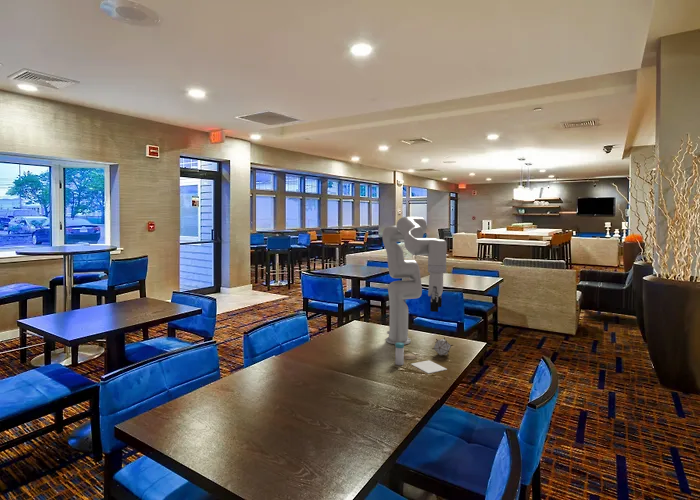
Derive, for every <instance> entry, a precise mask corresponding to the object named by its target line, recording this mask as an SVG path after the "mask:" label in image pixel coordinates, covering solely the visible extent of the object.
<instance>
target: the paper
mask: <svg viewBox="0 0 700 500" xmlns="http://www.w3.org/2000/svg"><path fill="white" fill-rule="evenodd" d="M410 365H411V366H413V367H415V368H417V369H419V370H421V371H422V372H423V373H426V374H434V373H437V372H442V371H447V370H448V368H446V367H445V366H442V365H440V364H438V363H435V362H434V361H432V360H431V359H429V360H423V361H418V362H413V363H410Z"/></svg>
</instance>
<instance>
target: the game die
mask: <svg viewBox="0 0 700 500" xmlns="http://www.w3.org/2000/svg"><path fill="white" fill-rule="evenodd" d="M435 340H436V342H435V344H434V346H433V347H432V348H431V350H434V351H435V353H437V354H438V356H439V358H441V356H449V353H450V350H451V347H453V346H454V345H453V344H450V343H449V342H448V340H446V337H443V338H441V339H438V338H436V339H435Z"/></svg>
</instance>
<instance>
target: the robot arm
mask: <svg viewBox="0 0 700 500" xmlns="http://www.w3.org/2000/svg"><path fill="white" fill-rule="evenodd" d="M427 225H428V224H427V221H426V219H425V218H424V217H422V216H403V217H400V218H399V219H398V220H397V222H396V225H388V226H386V227H384V228H383V231H382V236H381V237H382V243H383V245H384V248H385V252H386V256H387V267H388V268H387V269H388V272H389V273H388V274H389V276H390V277H391V278H392V279H405V280H394V281H392V282H390V283H388V287H387V292H388V300H389V328H388V329H389V330H387V331H386V334H388V337H387V338H386V340H385V342H387V343H388V344H390V345H395V343H398V342H400V343H404V346H405V345H409V344H411V341H412V339H411V338H410V337H409V307H408V304H407V303H406V302H405V300H411V299H413V300H414V299H419V298H420V297H422V295H423V294H422V293H423V286H422V278H421V269H420V266H419V263H418V262H417V261H416V260H415V259H405V257H404V255H405V254H404V251H403V248H402V247H401V246H400V245H399V243H404V247H405V249H406V250H407V251H408V253H410V254H411V255H413V256H427V273H429V276H428V277H429V279H428V290H427V291H428V292H427V295H428V297H430V307H429V308H430V309H429V310H430V312H432V313H433V312H434V313H439V308H441V307H442V304H443V303H442V302H443V301H442V300H443V299H442V298H443V297H442V294H443V291H444V274H446V273H447V247H448V246H447V245H448V244H447V241H446V240H445V239H439V238H437V237H424V236H425V235H424V234H425V232H426V231H427V228H428V226H427ZM406 279H408V280H406Z"/></svg>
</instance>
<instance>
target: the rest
mask: <svg viewBox="0 0 700 500" xmlns="http://www.w3.org/2000/svg"><path fill="white" fill-rule="evenodd" d="M416 359H417V354H412V353H404V360H409V361H410V360H416Z"/></svg>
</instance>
